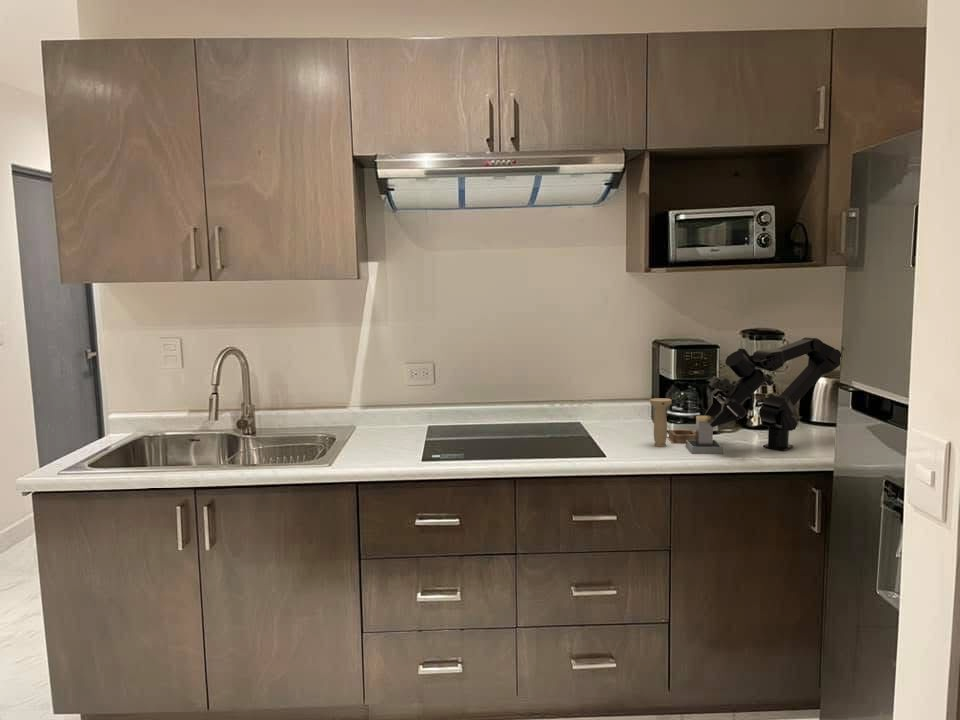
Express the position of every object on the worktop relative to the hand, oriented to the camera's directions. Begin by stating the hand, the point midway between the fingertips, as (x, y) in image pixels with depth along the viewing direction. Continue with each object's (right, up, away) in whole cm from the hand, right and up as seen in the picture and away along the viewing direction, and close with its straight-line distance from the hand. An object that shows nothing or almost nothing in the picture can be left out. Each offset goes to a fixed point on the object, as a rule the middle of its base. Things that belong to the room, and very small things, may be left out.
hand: (707, 422), depth 201 cm
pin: (-1, -8, +1) cm, 8 cm away
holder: (-3, -7, +13) cm, 15 cm away
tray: (-1, -9, +1) cm, 9 cm away
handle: (-12, -9, +7) cm, 17 cm away
